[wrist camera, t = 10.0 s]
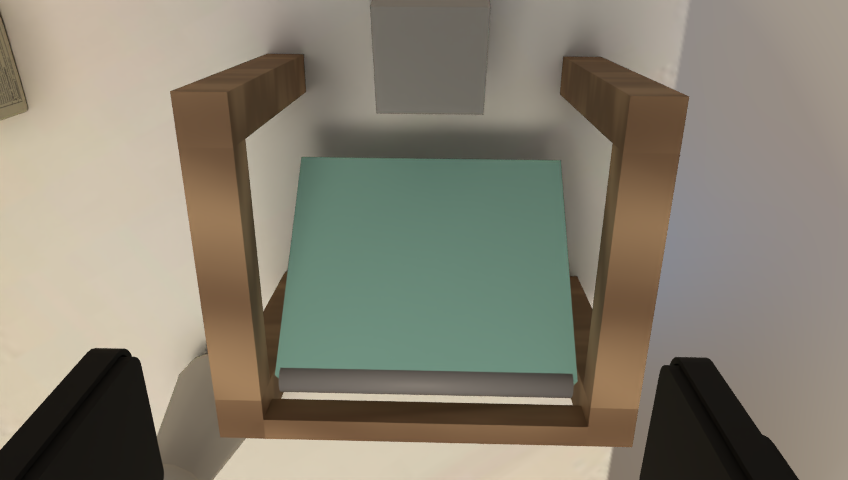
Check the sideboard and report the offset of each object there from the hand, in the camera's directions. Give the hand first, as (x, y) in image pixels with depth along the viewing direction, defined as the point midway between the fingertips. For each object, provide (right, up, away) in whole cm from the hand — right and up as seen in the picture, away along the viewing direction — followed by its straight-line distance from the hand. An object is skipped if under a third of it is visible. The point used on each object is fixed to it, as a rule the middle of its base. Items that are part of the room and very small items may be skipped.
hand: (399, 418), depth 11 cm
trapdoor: (+1, +2, +19) cm, 19 cm away
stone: (+1, +11, +16) cm, 20 cm away
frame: (+1, +6, +25) cm, 26 cm away
